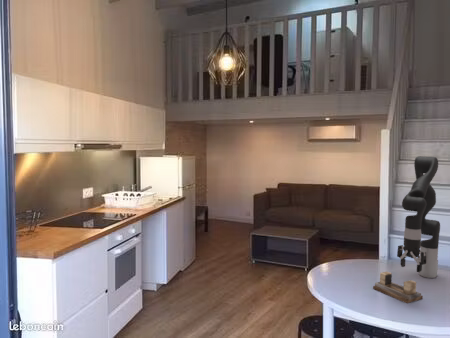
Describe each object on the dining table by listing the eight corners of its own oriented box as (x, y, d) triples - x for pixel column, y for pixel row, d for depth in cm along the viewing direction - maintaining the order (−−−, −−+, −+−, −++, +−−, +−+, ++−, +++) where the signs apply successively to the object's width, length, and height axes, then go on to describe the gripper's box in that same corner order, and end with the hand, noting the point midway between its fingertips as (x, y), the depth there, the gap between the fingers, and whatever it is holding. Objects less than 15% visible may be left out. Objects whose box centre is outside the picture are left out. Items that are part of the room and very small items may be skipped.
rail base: (388, 285, 205) (389, 269, 205) (422, 298, 188) (423, 282, 187) (373, 288, 200) (373, 273, 199) (406, 303, 182) (407, 286, 182)
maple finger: (408, 297, 185) (409, 283, 185) (402, 295, 188) (403, 281, 188) (415, 295, 188) (416, 282, 187) (409, 293, 190) (410, 279, 190)
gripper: (430, 239, 181) (429, 272, 182) (404, 233, 193) (402, 263, 195) (421, 241, 177) (419, 275, 179) (394, 234, 190) (393, 266, 191)
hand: (410, 269), depth 187 cm, fingers open, 8 cm apart
